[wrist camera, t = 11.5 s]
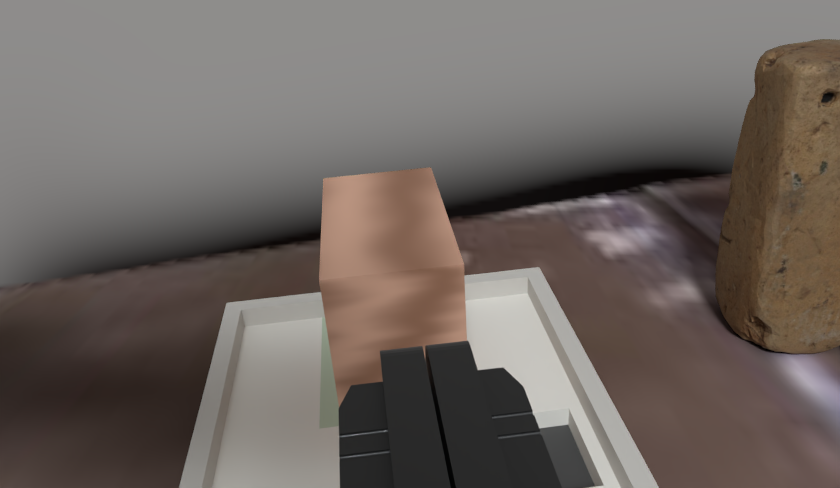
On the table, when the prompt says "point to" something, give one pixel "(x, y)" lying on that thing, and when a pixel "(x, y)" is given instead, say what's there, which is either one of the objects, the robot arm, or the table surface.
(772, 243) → the block
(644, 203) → the table surface
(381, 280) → the terracotta block
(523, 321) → the box
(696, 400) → the table surface
